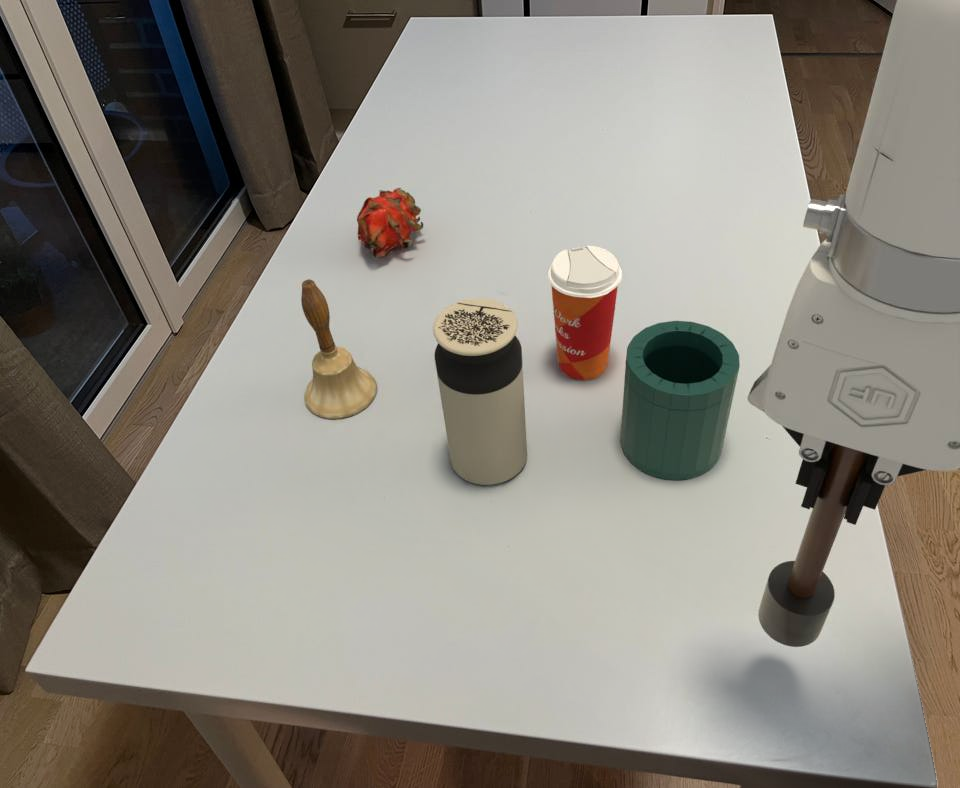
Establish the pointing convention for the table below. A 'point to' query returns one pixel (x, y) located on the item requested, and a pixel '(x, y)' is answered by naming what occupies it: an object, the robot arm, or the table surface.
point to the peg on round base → (811, 560)
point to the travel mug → (481, 390)
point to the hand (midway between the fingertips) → (833, 497)
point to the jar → (677, 398)
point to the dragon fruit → (388, 221)
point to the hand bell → (333, 366)
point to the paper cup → (584, 308)
